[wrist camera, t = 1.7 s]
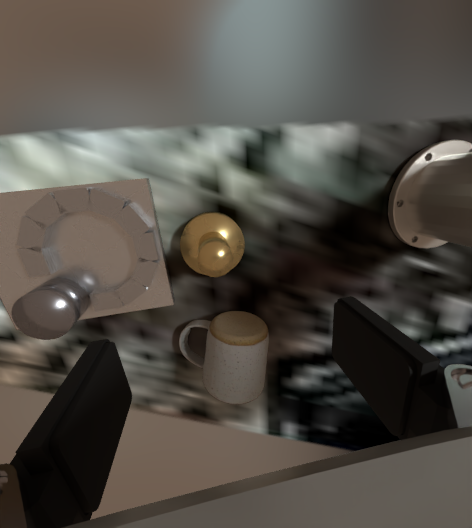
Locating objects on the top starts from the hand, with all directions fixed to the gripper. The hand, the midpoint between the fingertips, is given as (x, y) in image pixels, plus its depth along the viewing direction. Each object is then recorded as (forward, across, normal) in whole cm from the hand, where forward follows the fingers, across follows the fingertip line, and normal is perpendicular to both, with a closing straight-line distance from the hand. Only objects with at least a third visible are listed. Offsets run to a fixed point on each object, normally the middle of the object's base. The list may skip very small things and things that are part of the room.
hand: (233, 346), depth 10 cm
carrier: (+18, +14, -1) cm, 23 cm away
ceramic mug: (+18, 0, +13) cm, 22 cm away
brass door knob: (+18, 0, 0) cm, 18 cm away
